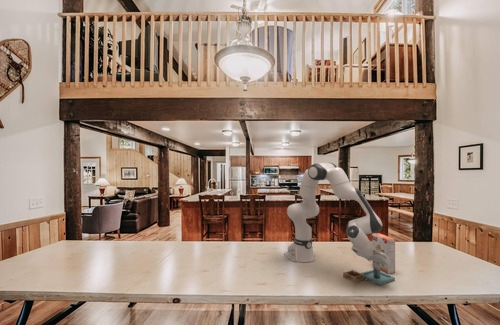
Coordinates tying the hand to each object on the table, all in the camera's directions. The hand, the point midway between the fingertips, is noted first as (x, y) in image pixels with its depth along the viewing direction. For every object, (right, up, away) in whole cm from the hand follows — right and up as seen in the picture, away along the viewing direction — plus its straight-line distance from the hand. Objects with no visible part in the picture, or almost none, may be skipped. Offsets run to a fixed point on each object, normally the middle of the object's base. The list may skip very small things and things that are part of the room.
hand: (377, 263), depth 149 cm
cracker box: (+10, -9, +13) cm, 19 cm away
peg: (-1, -8, 0) cm, 8 cm away
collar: (-14, -9, 0) cm, 16 cm away
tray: (-1, -9, 0) cm, 9 cm away
